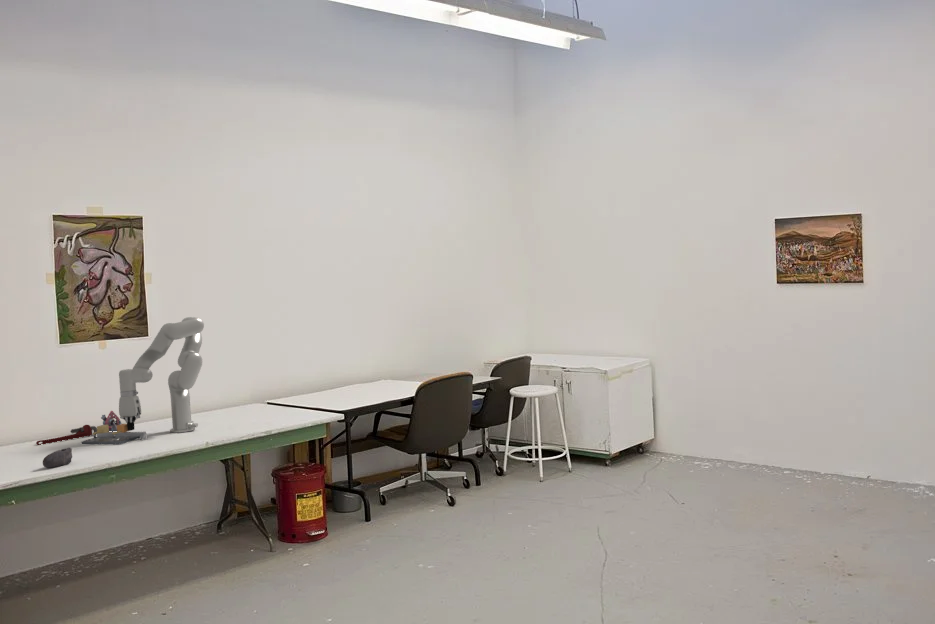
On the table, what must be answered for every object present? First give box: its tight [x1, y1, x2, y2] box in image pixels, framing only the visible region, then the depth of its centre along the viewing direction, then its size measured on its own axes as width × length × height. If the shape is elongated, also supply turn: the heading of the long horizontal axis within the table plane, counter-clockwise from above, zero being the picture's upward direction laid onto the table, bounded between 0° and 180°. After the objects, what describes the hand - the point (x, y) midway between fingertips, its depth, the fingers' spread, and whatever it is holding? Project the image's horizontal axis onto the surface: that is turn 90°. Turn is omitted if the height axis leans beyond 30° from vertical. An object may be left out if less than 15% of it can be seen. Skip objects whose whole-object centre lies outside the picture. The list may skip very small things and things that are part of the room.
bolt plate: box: [80, 424, 147, 445], centre depth 433 cm, size 27×16×7 cm, turn 76°
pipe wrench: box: [35, 424, 97, 446], centre depth 443 cm, size 7×2×30 cm
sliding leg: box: [112, 423, 129, 438], centre depth 434 cm, size 4×11×5 cm, turn 167°
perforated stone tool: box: [42, 447, 73, 469], centre depth 379 cm, size 15×5×7 cm, turn 152°
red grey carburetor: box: [100, 410, 123, 432], centre depth 464 cm, size 11×11×12 cm
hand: (131, 430), depth 436 cm, fingers closed
